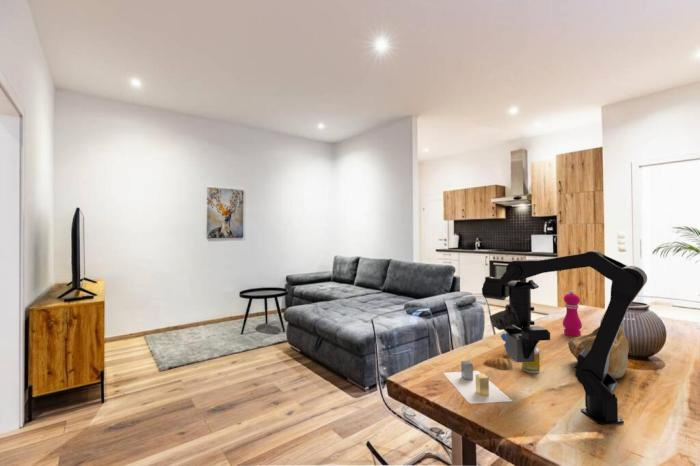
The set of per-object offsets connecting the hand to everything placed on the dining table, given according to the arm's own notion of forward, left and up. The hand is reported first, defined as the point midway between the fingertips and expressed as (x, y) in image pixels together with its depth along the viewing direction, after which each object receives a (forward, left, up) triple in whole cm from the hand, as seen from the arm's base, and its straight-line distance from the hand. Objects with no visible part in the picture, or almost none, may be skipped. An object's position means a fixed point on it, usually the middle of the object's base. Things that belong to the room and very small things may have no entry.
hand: (520, 355), depth 99 cm
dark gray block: (0, 0, -1) cm, 1 cm away
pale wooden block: (-2, +13, -10) cm, 16 cm away
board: (+3, +13, -11) cm, 17 cm away
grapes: (+30, -14, -11) cm, 35 cm away
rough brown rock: (+13, -35, -11) cm, 39 cm away
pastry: (+16, -3, -11) cm, 20 cm away
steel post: (+8, +13, -10) cm, 18 cm away
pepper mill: (+48, -54, -11) cm, 73 cm away
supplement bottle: (+14, -12, -11) cm, 21 cm away
